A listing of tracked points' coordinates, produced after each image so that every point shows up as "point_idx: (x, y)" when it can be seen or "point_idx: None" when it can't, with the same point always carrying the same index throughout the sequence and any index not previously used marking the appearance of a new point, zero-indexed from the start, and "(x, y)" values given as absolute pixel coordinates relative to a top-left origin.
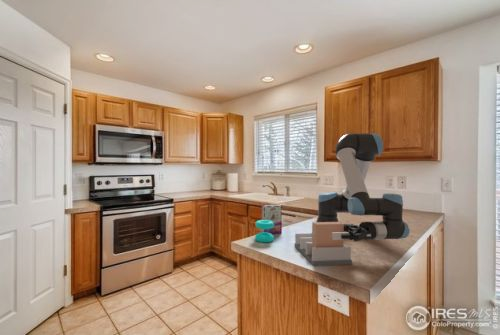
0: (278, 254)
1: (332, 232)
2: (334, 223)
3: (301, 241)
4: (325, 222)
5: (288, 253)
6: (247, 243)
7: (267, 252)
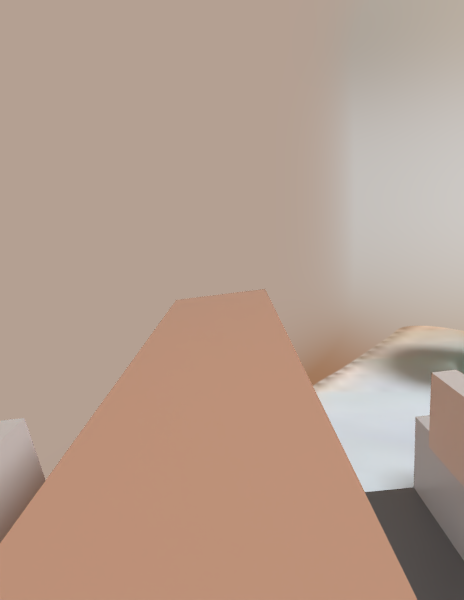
0: (335, 407)
1: (21, 420)
2: (151, 411)
3: (418, 442)
4: (257, 336)
5: (364, 441)
6: (431, 341)
7: (349, 381)
